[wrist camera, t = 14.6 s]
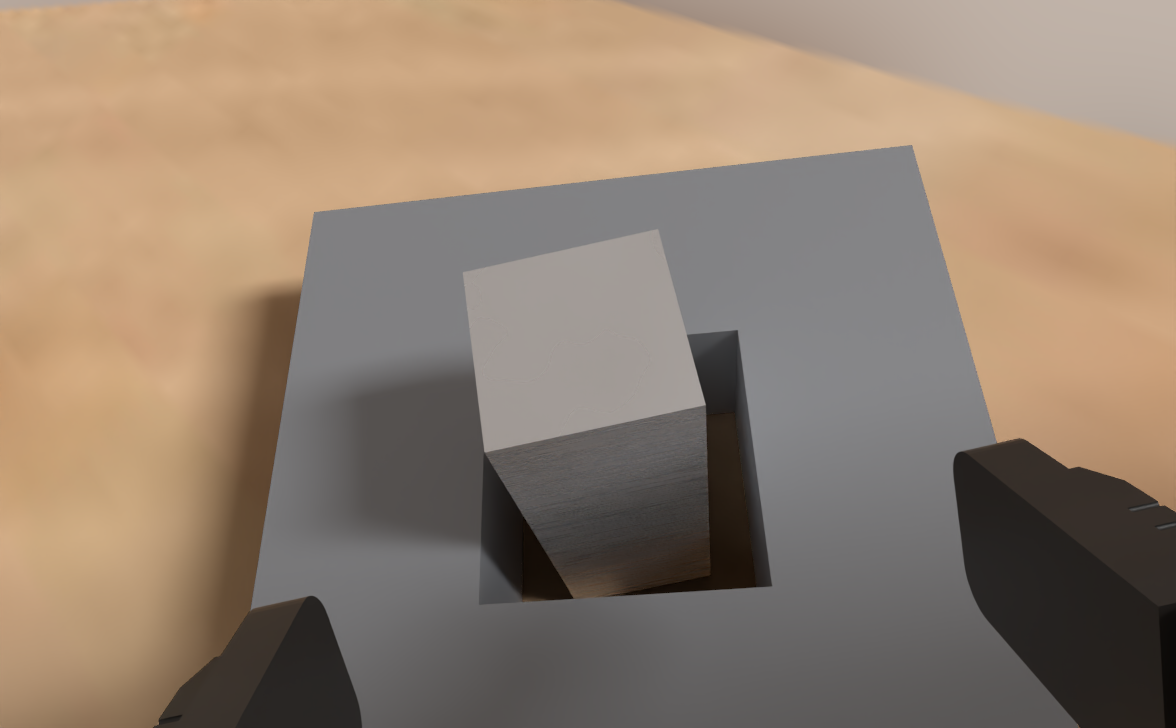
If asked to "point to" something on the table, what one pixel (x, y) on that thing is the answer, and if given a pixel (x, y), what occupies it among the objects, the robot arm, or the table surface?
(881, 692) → the well block
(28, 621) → the table surface
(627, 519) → the steel bar
